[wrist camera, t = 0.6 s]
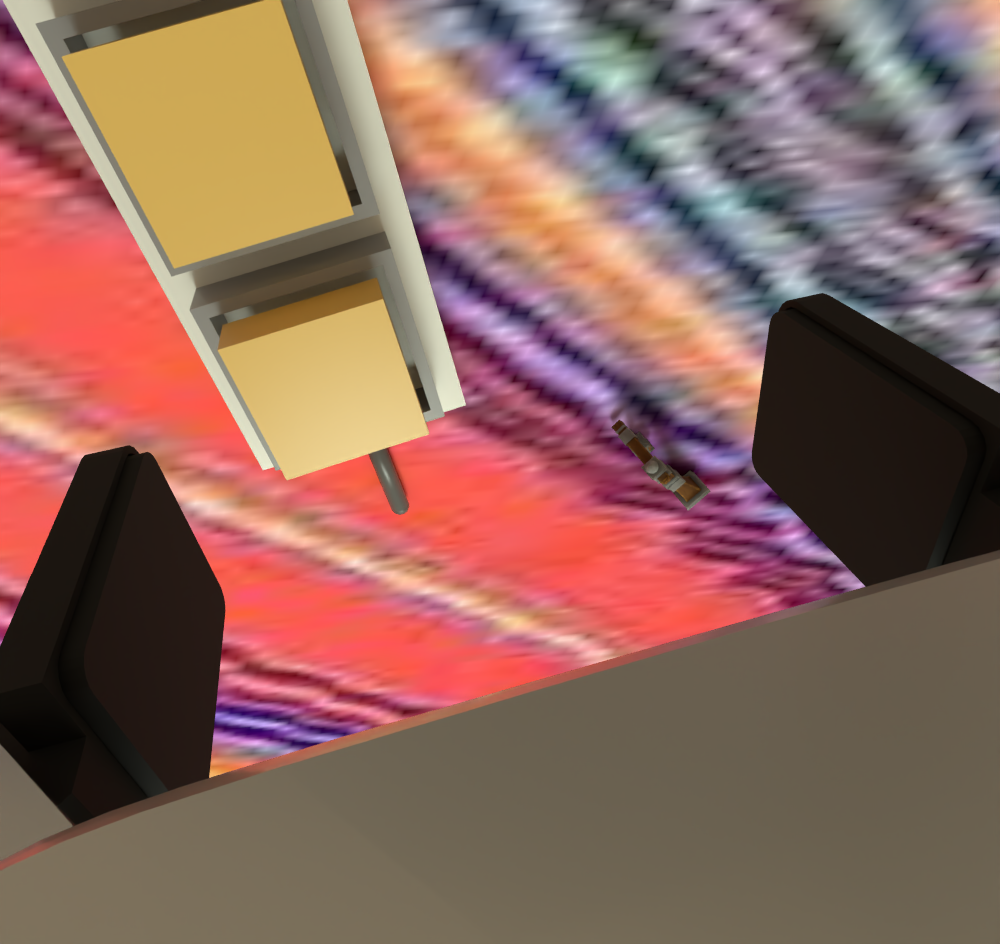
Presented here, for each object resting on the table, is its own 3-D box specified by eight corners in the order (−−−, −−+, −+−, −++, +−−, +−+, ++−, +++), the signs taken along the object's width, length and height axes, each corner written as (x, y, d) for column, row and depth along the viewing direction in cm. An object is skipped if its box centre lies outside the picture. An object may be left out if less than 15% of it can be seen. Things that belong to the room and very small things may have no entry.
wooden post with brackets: (620, 407, 38) (672, 465, 36) (666, 443, 44) (712, 493, 42) (597, 430, 38) (646, 488, 36) (646, 462, 45) (690, 512, 43)
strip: (185, -529, 18) (154, -680, 14) (484, 479, 39) (506, 537, 35) (-201, -442, 17) (-353, -572, 13) (317, 534, 39) (320, 600, 35)
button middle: (280, -6, 20) (279, -4, 19) (349, 197, 24) (354, 214, 22) (81, 49, 20) (61, 56, 18) (182, 247, 24) (174, 268, 22)
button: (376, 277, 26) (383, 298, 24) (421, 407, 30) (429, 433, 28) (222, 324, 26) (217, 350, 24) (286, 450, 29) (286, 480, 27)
